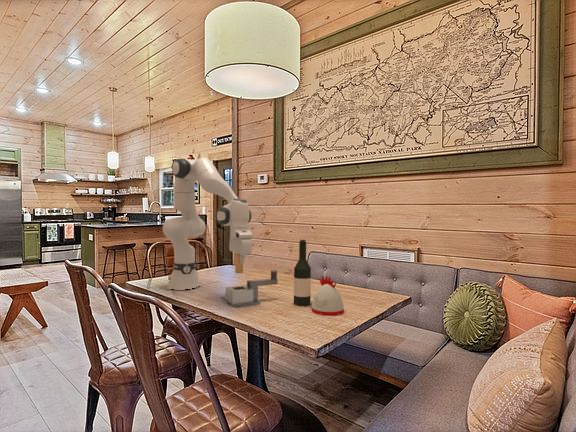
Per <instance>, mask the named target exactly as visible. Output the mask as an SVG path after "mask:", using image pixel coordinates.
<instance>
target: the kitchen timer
mask: <svg viewBox="0 0 576 432" xmlns="http://www.w3.org/2000/svg"><path fill="white" fill-rule="evenodd" d="M318 280H319V283H320V285H321V286H320V287H319V288H318V290H316V292H315V294H314V296H313V300H312V303H311V312H312V313H313V314H316V315H319V316H325V317H326V316H327V317H331V316H332V317H333V316H340V315H342V314H344V311H345V309H344V308H345V307H344V301H343V299H342V295H341V293H340V291H339V290H338V289H337V288H336V286H337V282H335V283H334V279H333V280H332V279H331V276H329V277H328V276H326V277H325V275H324V276H322V278H319V279H318Z"/></svg>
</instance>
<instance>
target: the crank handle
mask: <svg viewBox="0 0 576 432" xmlns="http://www.w3.org/2000/svg"><path fill="white" fill-rule="evenodd" d="M252 280H253V279H252ZM248 281H249V280H248ZM252 282H257V283H258V287H263V286H275V285H278V284H279V283H278V270H276V269H275V270H271V271H270V278H266V279H254V280H253V281H249V286H251V283H252Z"/></svg>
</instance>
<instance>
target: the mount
mask: <svg viewBox="0 0 576 432" xmlns="http://www.w3.org/2000/svg"><path fill="white" fill-rule="evenodd" d="M249 281H253V279H252V280H246V285H245V284H244V285H234V286H233V285H232V286H225V295H221V296H220V299H221V298H222V299H223V300H222V299H221V300H222V301H224V302H225V301H226V302H227V303H226V302H225V303H226V304H227V305H229V306H230V305H231V306H230V307H232V308H233V307H235V308H242V307H248V306H249V305H250V306H257V305H261V301H259V296H258V295H259V286H258V283H257V282H252V283H251V286H249ZM250 306H249V307H250Z"/></svg>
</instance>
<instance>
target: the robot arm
mask: <svg viewBox="0 0 576 432" xmlns="http://www.w3.org/2000/svg"><path fill="white" fill-rule="evenodd" d="M171 172H172V174H173V176H174V177H175V180H174V185H173V186H174V189H173V194H174V195H173V197H174V198H173V206H174V208H175V210H176V211H177V212H179V213H180V215H181V216H182V217H179V218H178V217H174V218H170V219H167V220H165V221H164V223H163V224H162V233H163V234H164V236H165V237H166V238H167V239H168V240H169V241H170V242H171V244H172V248H173V253H174V254H173V255H174V256H173V257H174V259H173V260H174V262H173V265H172V268H173V270H172V272H171V274H170V275H168V281H169V282H167V286H166V290H171V289H174V290H173V291H186V290H185V289H190V290H193V289H192V288H195V289H197V288H199V287H198V286H200V287H202V284H201V283H199V282H200V281H199V271H197V270H196V267H197V264H196V248H195V247H194V246H193V245H191V243H189V240H188V238H197V237H199V236H202V235H204V233H205V232H206V223H205V221H204V220H203V219H202V218H201V217H200V216H199V213H198V212H197V208H196V198H195V197H196V196H195V195H196V193H195V192H196V191H195V185H196V182H198V183H199V186H200V187H201V188H202V189H203V190H204V191H205V192H206V193H209V194H213V195H216V196H220V197H221V198H224V200H225V201H227V203H228V204H226V205H223V206H219V207H218V208H217V210H216V214H215V217H216V221H217V223H218V224H219V225H220V226H225V227H226V226H227V227H228V226H229V228H230V231H229V236H230V237H229V243H228V245H229V246H228V249H229V251H230V252H231V253H234V254H233V255H234V258H235V260H236V253H238V254H240V260H239V263H240V264H243V265H244V264H245V258H246V256H251V254H252V250H253V249H252V248H253V247H252V246H253V241H252V239H253V238H254V234H253V233H252V231H251V230H250V224H249V223H250V222H251V219H252V212H251V209H250V205H249V201H247V200H246V199H242V198H240V197H239V196H238V194H237V192H236V191H235V189H234V188H233V187H232V186H231V185H230V184H229V183H228V182H227V181H226V180H224V178H223V177H222V176H221V175H220V173H219V171H218V169H217V167H216V166H215V164H213V162H212V161H211V160H210V158H208V157H200V158H197V159H195V158H194V159H192V158H191V159H187V158H177V159H175V160H174V161H173V162H172V166H171ZM196 287H197V288H196Z"/></svg>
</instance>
